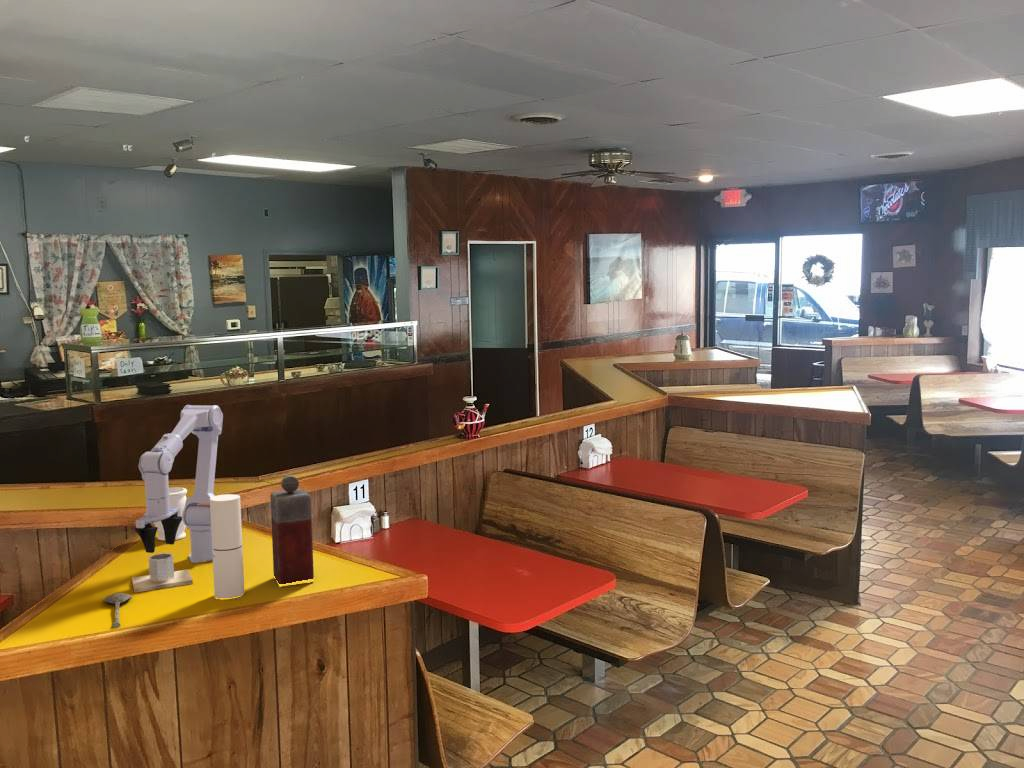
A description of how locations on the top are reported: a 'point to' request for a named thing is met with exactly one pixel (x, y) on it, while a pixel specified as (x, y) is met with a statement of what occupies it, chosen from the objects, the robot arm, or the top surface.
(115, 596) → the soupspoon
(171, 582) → the board
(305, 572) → the ball-stopper bottle
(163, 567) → the collar
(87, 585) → the top surface
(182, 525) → the jar
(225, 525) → the cylindrical container
